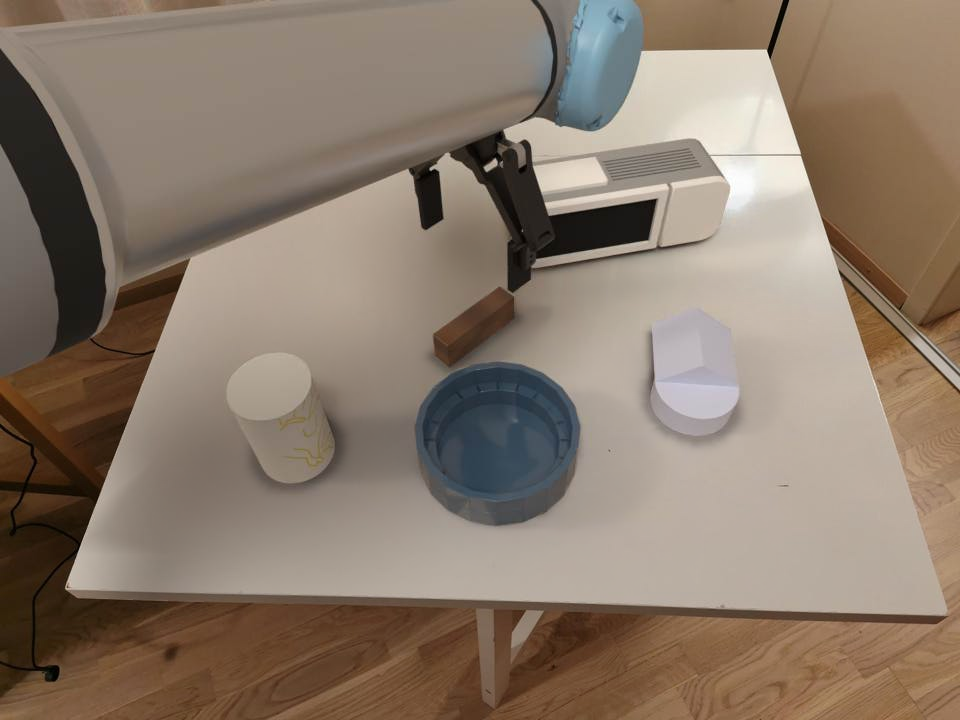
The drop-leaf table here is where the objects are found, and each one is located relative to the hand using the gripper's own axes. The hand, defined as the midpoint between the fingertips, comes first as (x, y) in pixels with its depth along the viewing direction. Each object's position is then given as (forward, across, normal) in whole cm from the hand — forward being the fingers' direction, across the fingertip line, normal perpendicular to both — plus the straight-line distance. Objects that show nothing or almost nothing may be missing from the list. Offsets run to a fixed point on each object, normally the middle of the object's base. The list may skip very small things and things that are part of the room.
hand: (474, 253), depth 76 cm
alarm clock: (+14, 0, -25) cm, 28 cm away
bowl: (+14, -14, +10) cm, 22 cm away
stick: (+14, 0, 0) cm, 14 cm away
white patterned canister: (+14, +2, +25) cm, 29 cm away
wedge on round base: (+14, -23, -12) cm, 29 cm away
